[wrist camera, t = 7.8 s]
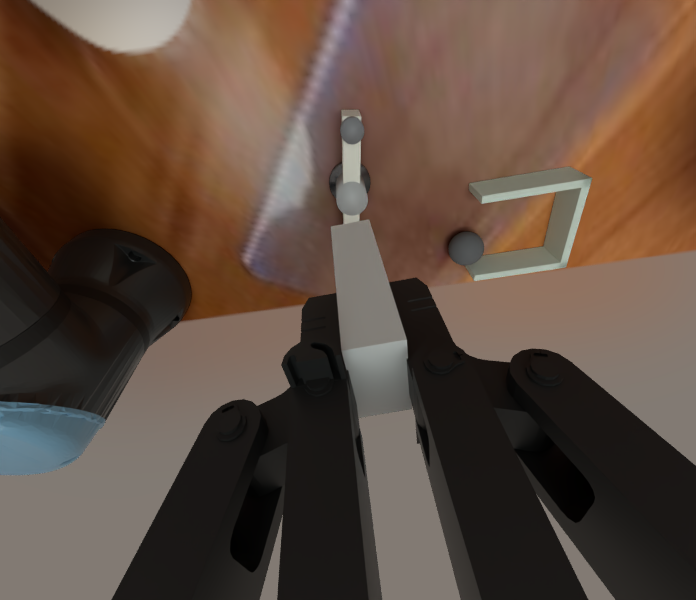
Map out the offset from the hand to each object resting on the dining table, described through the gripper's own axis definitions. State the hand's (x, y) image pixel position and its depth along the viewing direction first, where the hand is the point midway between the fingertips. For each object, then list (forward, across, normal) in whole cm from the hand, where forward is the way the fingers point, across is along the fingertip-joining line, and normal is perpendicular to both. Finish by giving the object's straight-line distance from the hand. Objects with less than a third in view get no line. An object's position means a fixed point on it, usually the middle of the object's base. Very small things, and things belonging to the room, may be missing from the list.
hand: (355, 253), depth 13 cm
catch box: (+24, +19, -13) cm, 34 cm away
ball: (+24, +14, -16) cm, 32 cm away
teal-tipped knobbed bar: (+24, +1, -7) cm, 25 cm away
